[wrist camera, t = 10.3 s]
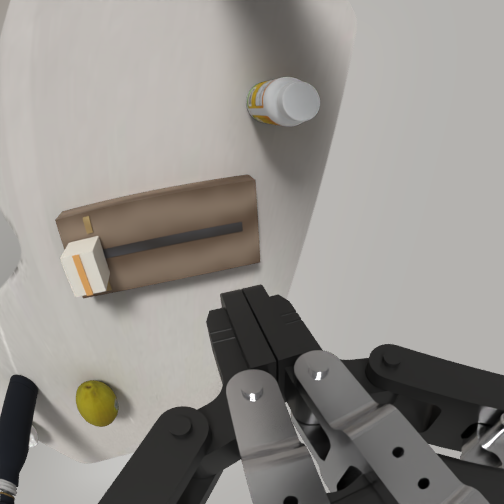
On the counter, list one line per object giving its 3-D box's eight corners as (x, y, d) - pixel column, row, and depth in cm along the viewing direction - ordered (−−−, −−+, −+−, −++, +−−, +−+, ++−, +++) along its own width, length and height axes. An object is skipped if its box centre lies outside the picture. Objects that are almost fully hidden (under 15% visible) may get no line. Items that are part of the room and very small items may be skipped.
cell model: (3, 421, 42) (-1, 442, 37) (3, 400, 40) (-3, 424, 34) (37, 436, 47) (35, 458, 41) (42, 417, 45) (39, 442, 39)
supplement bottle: (293, 112, 34) (334, 116, 26) (256, 130, 34) (289, 138, 26) (276, 75, 31) (314, 66, 23) (237, 92, 31) (265, 86, 23)
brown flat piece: (62, 211, 31) (54, 220, 28) (248, 174, 36) (255, 180, 34) (86, 285, 36) (82, 299, 33) (253, 252, 42) (260, 262, 39)
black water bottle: (22, 371, 38) (0, 516, 13) (43, 391, 42) (33, 530, 16) (5, 378, 38) (-18, 511, 12) (26, 397, 41) (13, 525, 16)
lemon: (118, 403, 48) (119, 437, 41) (81, 399, 45) (79, 432, 38) (118, 369, 44) (117, 406, 37) (75, 363, 41) (70, 400, 34)
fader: (68, 242, 30) (59, 259, 26) (98, 235, 31) (91, 252, 27) (81, 278, 32) (74, 298, 29) (110, 272, 33) (105, 292, 29)
